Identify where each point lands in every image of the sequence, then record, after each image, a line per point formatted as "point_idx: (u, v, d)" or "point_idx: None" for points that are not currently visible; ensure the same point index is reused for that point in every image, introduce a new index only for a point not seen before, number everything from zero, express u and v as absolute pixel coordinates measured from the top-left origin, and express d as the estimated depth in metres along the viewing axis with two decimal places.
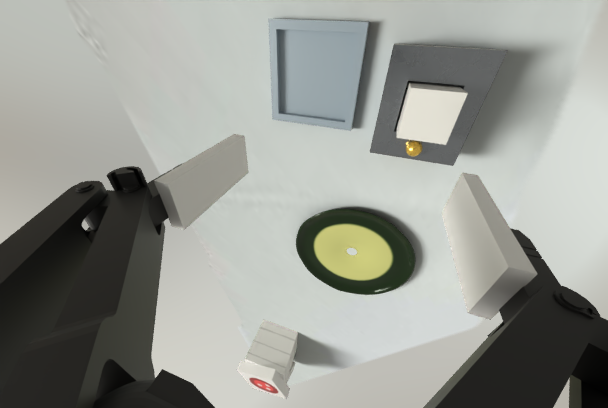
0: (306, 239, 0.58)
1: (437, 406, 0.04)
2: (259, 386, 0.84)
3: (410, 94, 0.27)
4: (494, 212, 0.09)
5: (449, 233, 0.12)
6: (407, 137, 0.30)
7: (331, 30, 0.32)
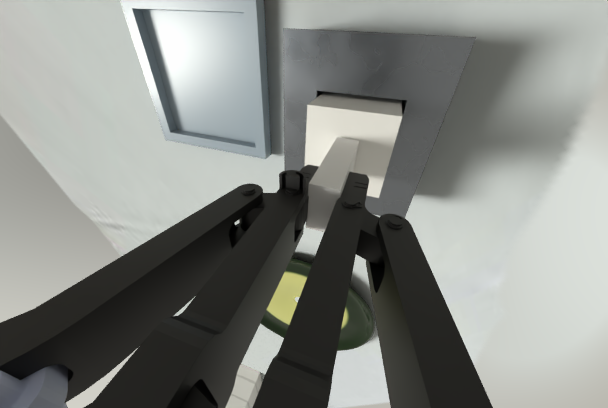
0: None
1: (293, 315, 0.06)
2: None
3: (309, 115, 0.16)
4: (347, 161, 0.13)
5: None
6: None
7: (205, 8, 0.20)
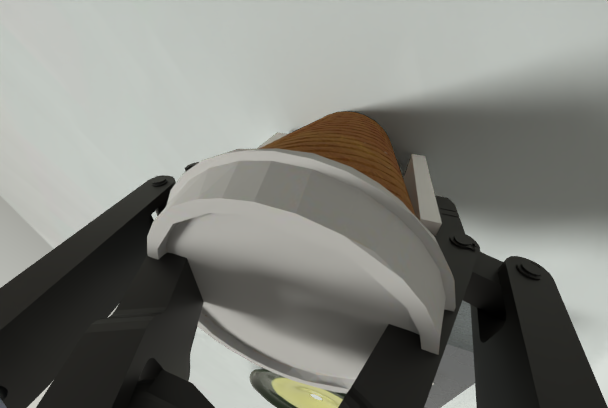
0: (262, 378, 0.48)
1: (373, 350, 0.05)
2: None
3: None
4: (426, 182, 0.11)
5: None
6: None
7: None
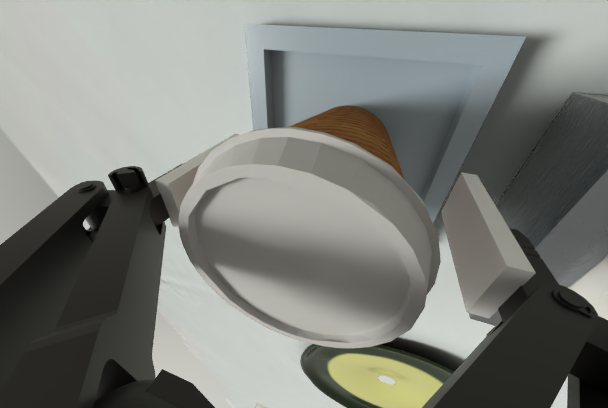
0: (316, 357, 0.38)
1: (436, 405, 0.04)
2: None
3: None
4: (493, 211, 0.09)
5: (448, 233, 0.12)
6: None
7: (406, 56, 0.12)
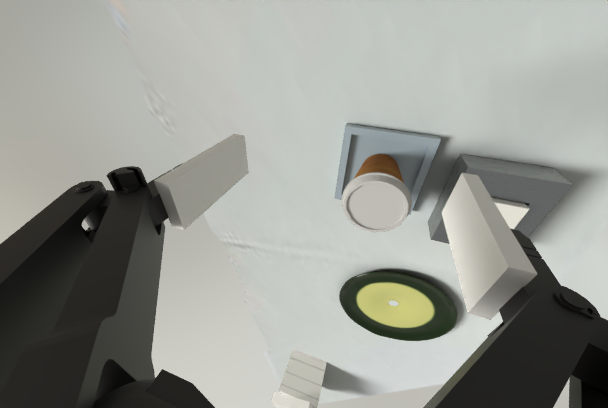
0: (350, 290, 0.62)
1: (437, 406, 0.04)
2: None
3: None
4: (494, 212, 0.09)
5: (449, 233, 0.12)
6: None
7: (404, 141, 0.36)
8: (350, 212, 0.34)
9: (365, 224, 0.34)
